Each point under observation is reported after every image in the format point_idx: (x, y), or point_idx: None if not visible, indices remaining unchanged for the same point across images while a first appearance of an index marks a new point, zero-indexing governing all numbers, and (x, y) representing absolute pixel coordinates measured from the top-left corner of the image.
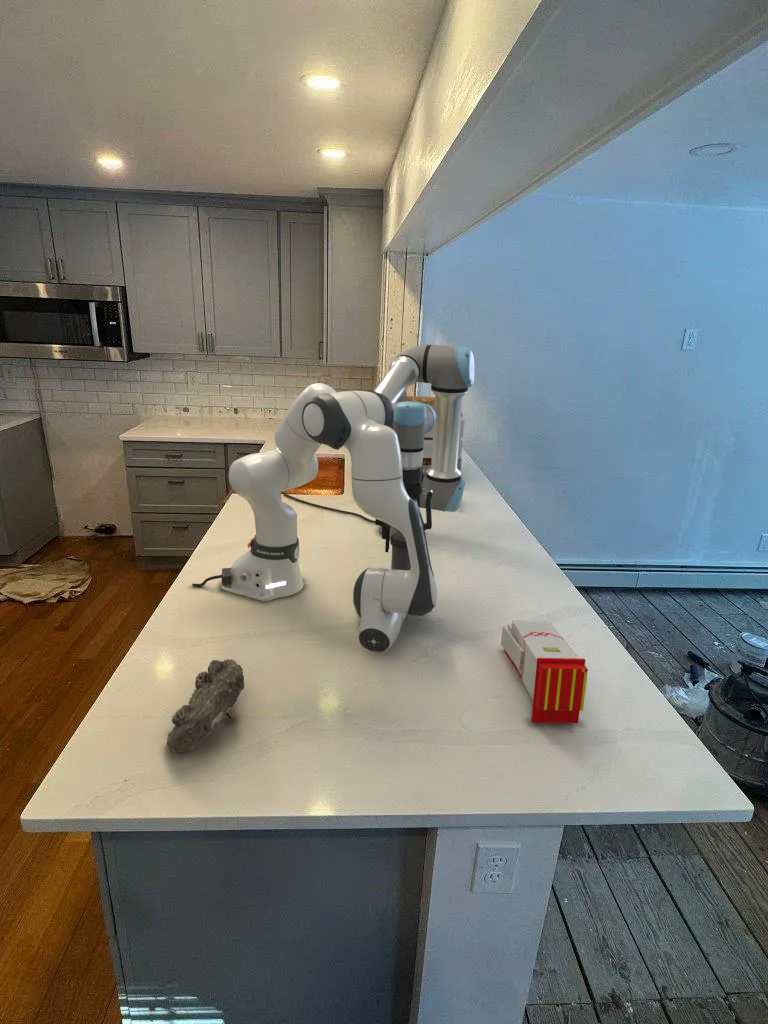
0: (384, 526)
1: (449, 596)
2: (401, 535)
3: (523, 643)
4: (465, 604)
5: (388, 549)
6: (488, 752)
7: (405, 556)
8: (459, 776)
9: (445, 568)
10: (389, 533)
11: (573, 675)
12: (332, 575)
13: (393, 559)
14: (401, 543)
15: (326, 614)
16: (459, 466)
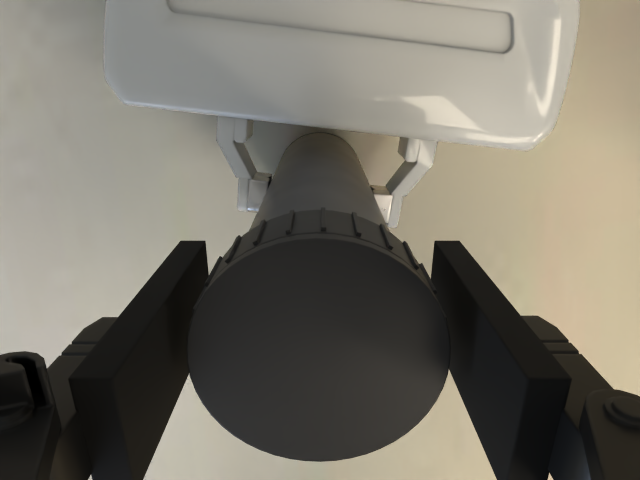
0: (623, 403)
1: (126, 276)
2: (337, 387)
3: None
4: (52, 225)
5: (435, 274)
6: None
7: (282, 206)
8: None
9: (175, 469)
10: (480, 381)
11: None
12: (598, 352)
13: (378, 213)
14: (322, 223)
15: (633, 22)
16: None
